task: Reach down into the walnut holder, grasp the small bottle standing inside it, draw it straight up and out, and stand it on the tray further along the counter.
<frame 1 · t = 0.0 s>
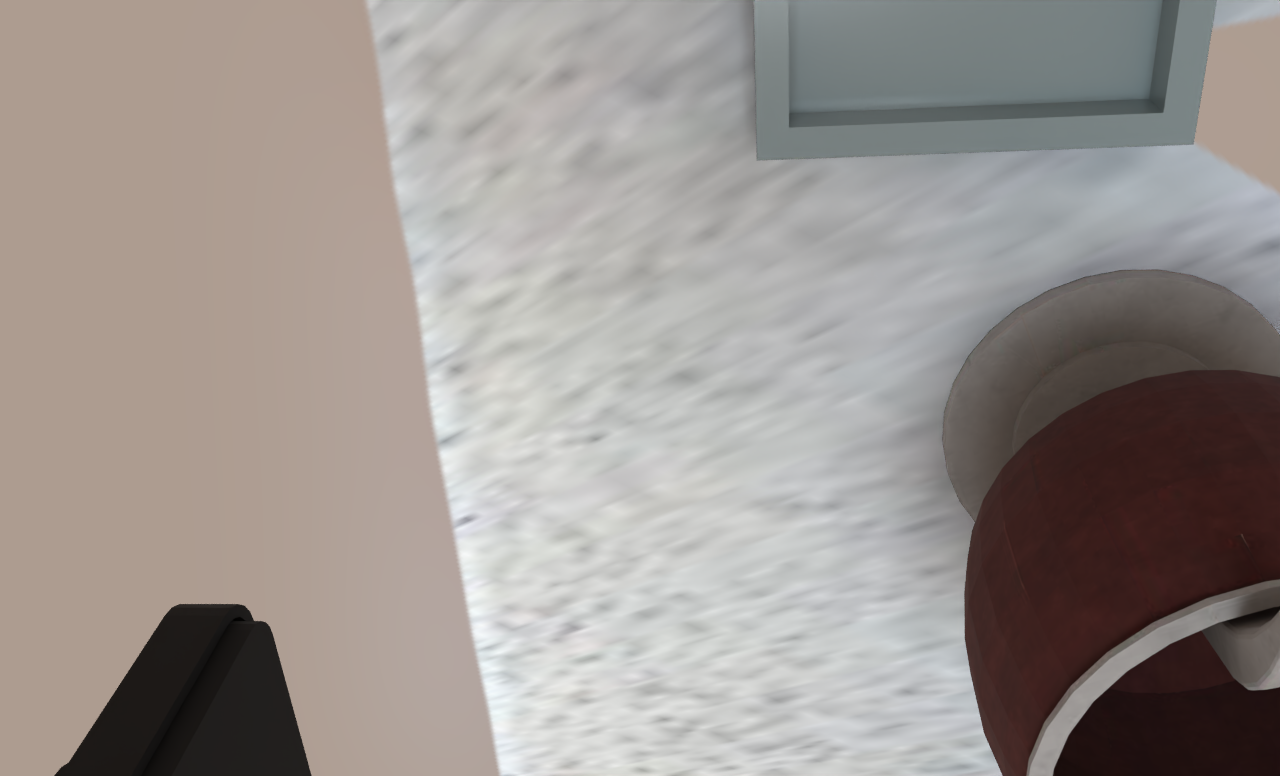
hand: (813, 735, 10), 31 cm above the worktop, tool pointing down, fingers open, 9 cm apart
mate gourd: (1109, 403, 44), on the worktop
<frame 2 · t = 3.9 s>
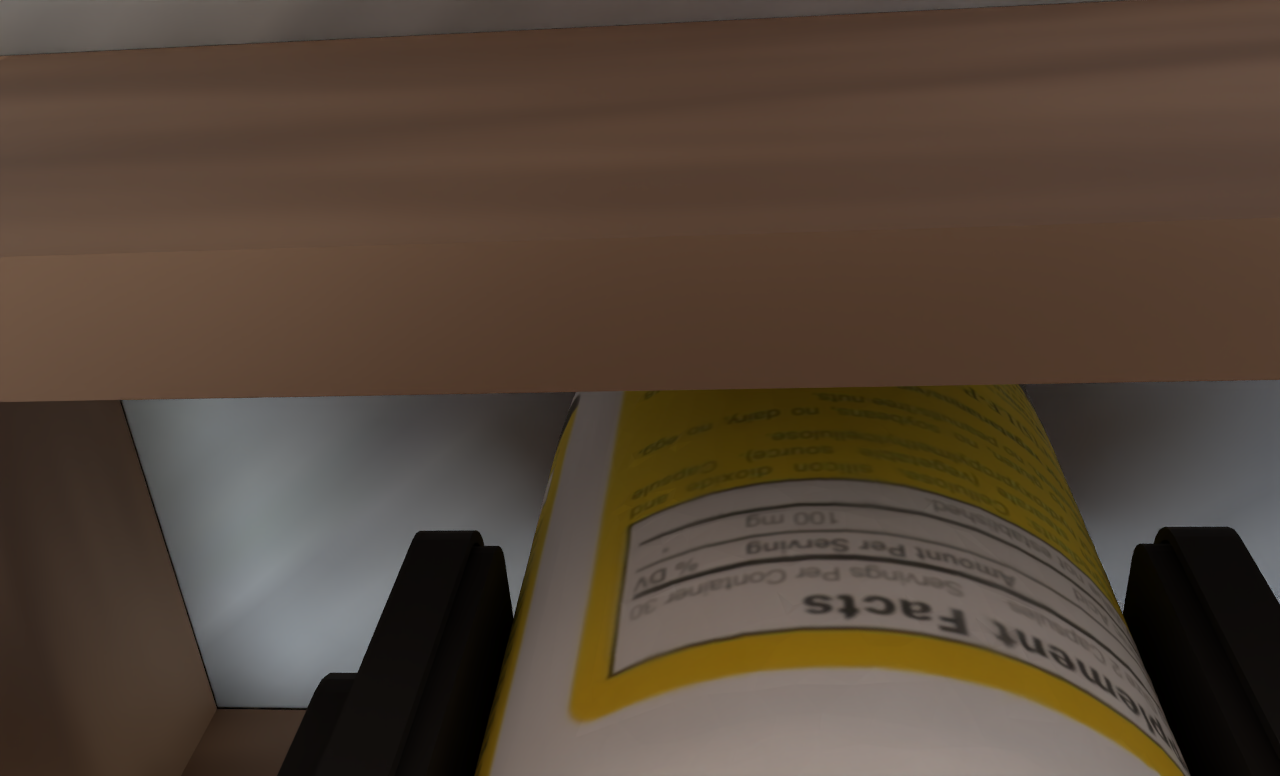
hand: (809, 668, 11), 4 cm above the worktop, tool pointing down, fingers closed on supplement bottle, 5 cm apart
holder: (798, 458, 14), on the worktop
supplement bottle: (797, 449, 14), resting in holder, touching gripper
when the fingers open (6 cm above the worktop, at t = 9.5 s): supplement bottle drops 1 cm, resting on tray.
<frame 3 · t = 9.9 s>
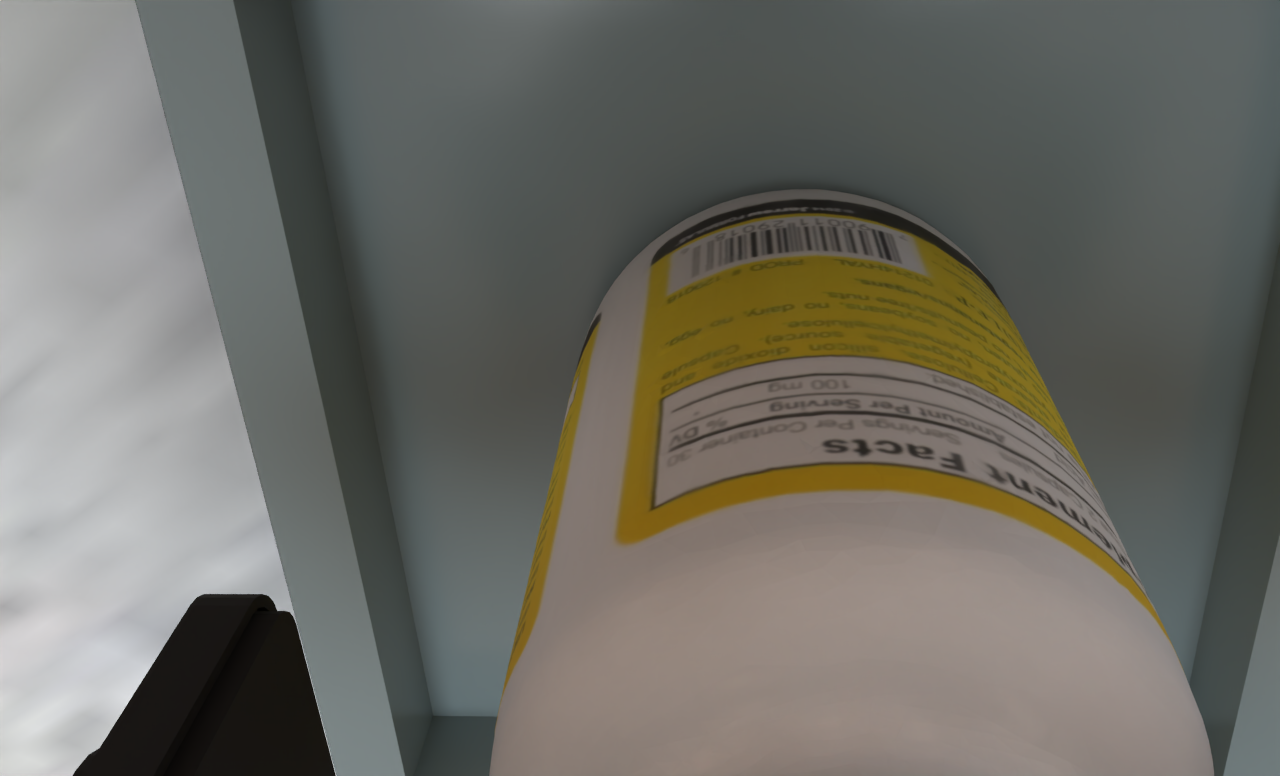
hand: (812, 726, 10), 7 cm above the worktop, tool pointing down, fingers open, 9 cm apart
tray: (791, 360, 16), on the worktop
supplement bottle: (797, 375, 15), point 1 cm above the worktop, touching tray
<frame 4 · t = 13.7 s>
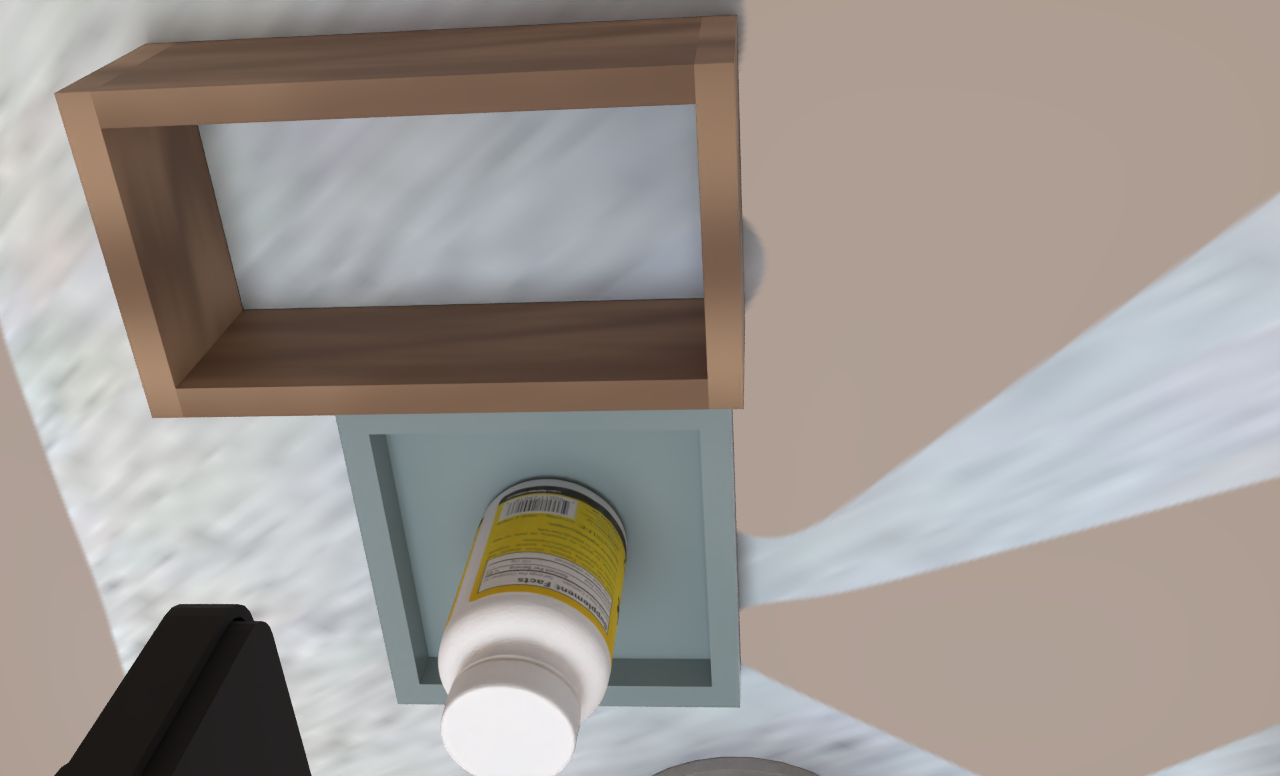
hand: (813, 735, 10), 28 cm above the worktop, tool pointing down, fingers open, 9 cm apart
holder: (456, 190, 38), on the worktop
tray: (558, 525, 44), on the worktop
supplement bottle: (556, 533, 43), point 1 cm above the worktop, touching tray
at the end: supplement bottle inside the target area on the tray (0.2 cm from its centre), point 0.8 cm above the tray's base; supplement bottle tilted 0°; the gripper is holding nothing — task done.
